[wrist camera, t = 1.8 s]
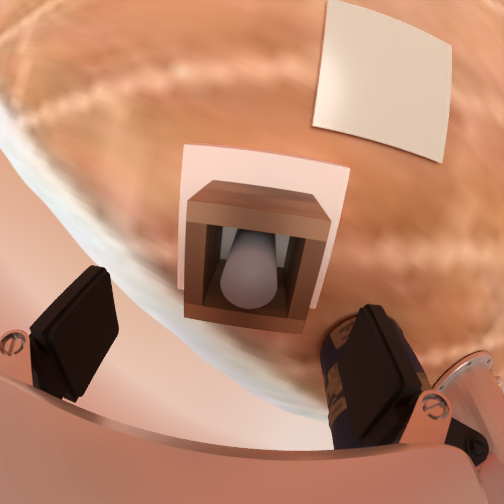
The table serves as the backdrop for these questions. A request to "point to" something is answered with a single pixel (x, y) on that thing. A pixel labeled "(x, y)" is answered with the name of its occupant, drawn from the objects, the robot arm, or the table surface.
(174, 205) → the table surface
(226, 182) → the hollow wooden box
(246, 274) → the post stand
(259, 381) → the table surface
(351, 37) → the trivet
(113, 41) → the table surface
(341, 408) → the canister
